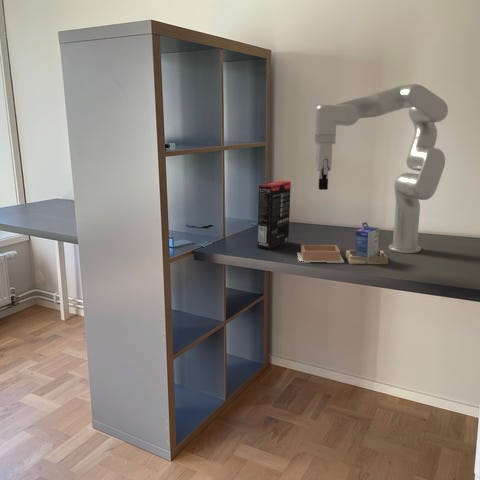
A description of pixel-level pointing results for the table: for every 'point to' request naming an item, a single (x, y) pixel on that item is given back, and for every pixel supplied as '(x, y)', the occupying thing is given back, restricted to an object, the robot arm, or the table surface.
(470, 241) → the table surface
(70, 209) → the table surface
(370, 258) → the beige rectangular frame
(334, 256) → the tray
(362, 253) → the ink cartridge box
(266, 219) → the graphics card box
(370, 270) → the table surface
